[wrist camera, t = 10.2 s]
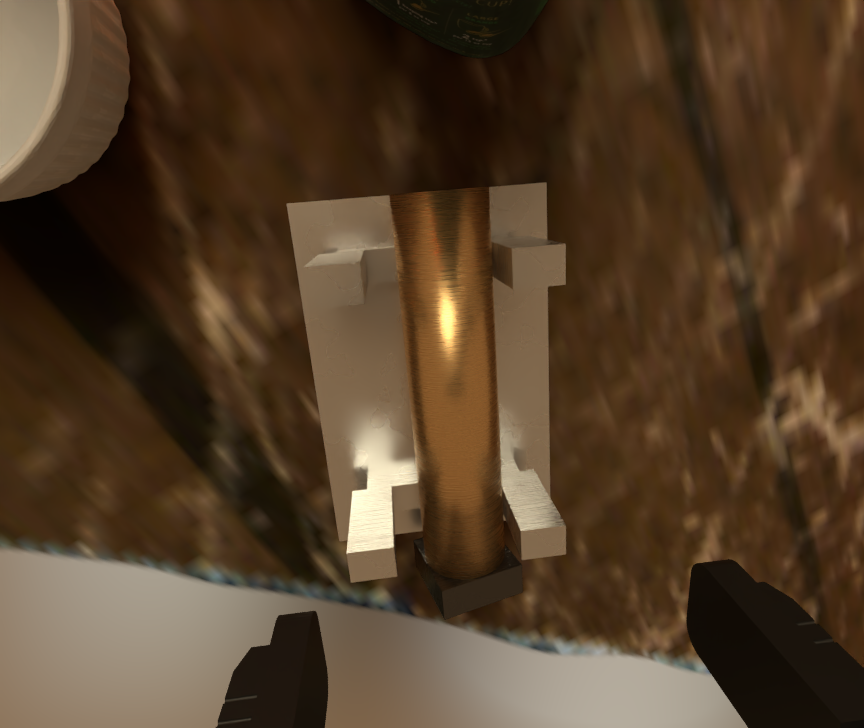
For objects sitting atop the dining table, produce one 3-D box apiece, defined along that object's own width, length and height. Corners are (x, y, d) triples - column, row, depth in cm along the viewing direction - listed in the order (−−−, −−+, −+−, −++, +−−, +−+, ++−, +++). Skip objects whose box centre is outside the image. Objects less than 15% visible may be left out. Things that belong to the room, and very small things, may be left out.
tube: (377, 196, 22) (406, 193, 18) (465, 189, 23) (509, 184, 20) (416, 565, 28) (444, 619, 24) (485, 544, 29) (522, 592, 25)
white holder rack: (289, 203, 24) (255, 203, 18) (541, 183, 25) (600, 175, 18) (340, 532, 30) (329, 628, 23) (545, 507, 30) (592, 592, 24)
